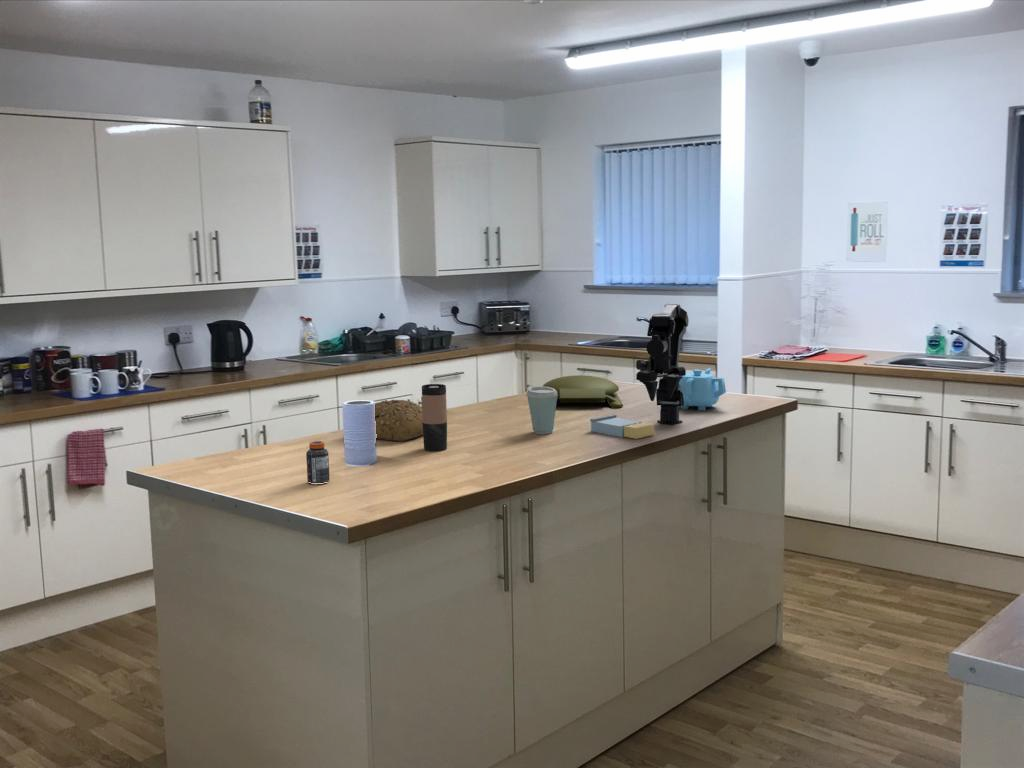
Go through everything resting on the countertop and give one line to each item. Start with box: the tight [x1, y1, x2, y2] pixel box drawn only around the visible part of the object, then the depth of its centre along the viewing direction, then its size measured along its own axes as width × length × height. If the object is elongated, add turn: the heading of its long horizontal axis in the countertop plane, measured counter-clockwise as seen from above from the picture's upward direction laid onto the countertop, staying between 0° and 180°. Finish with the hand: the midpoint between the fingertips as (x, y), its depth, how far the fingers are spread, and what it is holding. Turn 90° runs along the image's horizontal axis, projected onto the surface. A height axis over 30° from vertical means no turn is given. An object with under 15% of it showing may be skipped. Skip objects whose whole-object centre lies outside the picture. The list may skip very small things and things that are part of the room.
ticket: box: [589, 414, 641, 438], centre depth 334 cm, size 11×14×4 cm
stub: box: [623, 421, 655, 440], centre depth 326 cm, size 9×5×4 cm, turn 131°
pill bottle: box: [305, 440, 331, 483], centre depth 272 cm, size 6×6×11 cm
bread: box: [374, 399, 423, 442], centre depth 333 cm, size 24×21×12 cm
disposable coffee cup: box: [525, 385, 558, 435], centre depth 334 cm, size 11×11×15 cm
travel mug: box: [421, 383, 448, 452], centre depth 310 cm, size 8×8×20 cm
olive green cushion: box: [542, 374, 624, 409], centre depth 393 cm, size 35×31×10 cm
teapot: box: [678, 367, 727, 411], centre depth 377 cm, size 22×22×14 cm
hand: (661, 399), depth 332 cm, fingers open, 8 cm apart
